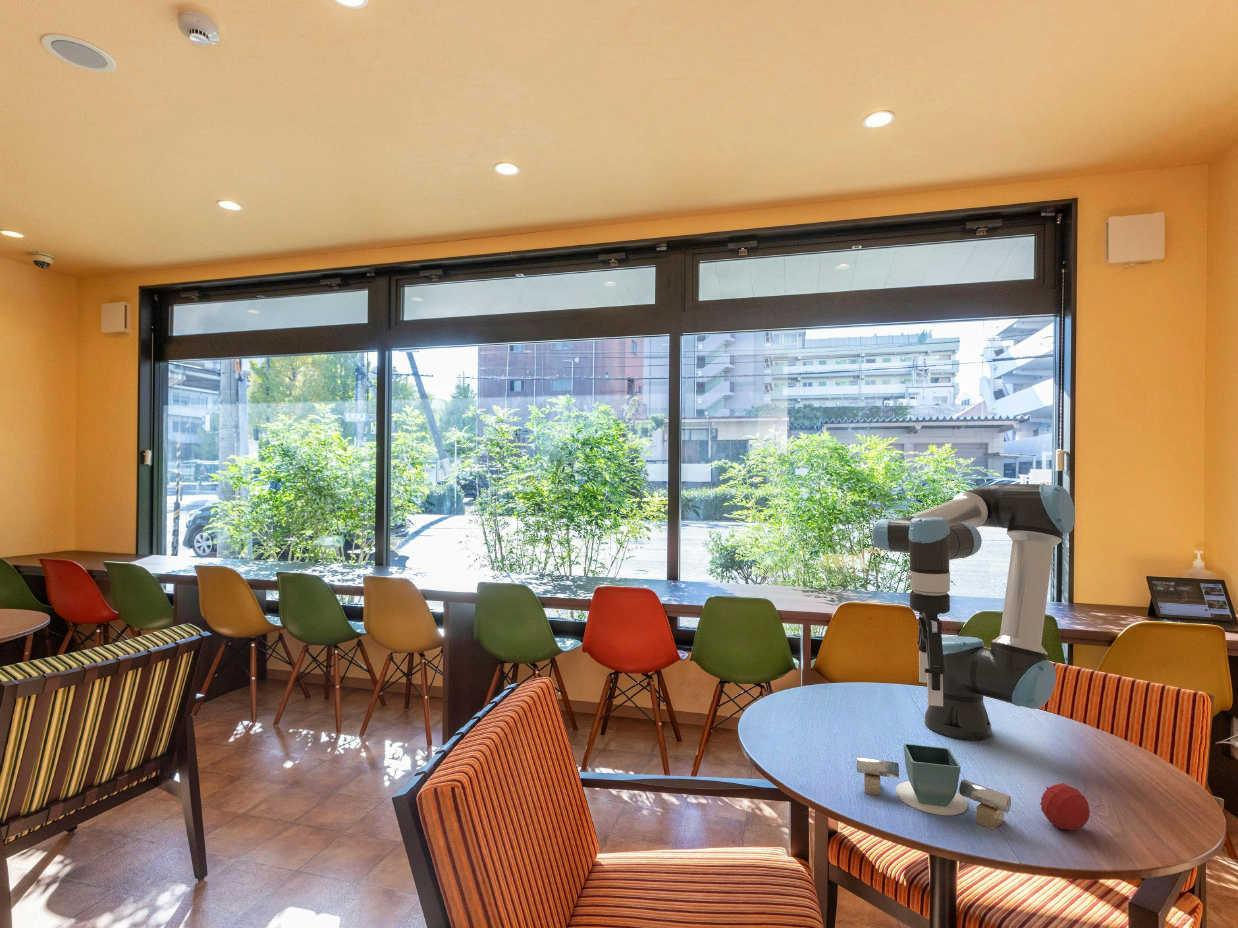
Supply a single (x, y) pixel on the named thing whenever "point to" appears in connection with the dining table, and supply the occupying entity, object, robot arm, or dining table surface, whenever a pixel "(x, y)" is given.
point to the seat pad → (909, 798)
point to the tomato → (1065, 807)
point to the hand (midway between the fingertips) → (930, 693)
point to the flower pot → (932, 773)
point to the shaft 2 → (986, 803)
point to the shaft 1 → (876, 772)
